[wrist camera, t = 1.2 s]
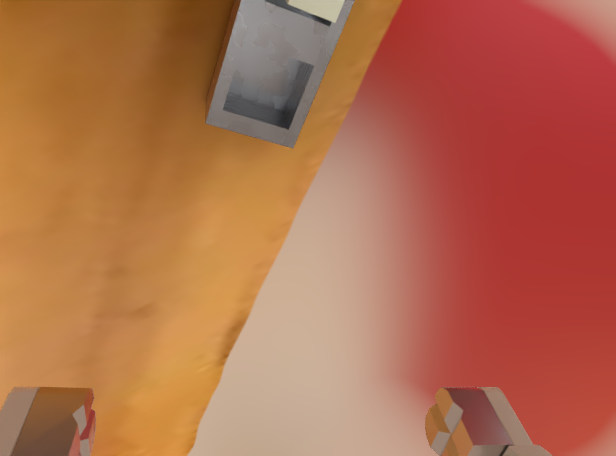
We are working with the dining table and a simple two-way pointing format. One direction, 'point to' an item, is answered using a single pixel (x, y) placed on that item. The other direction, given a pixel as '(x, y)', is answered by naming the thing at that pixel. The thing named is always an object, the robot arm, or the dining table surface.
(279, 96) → the grey peg holder
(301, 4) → the beige peg
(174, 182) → the dining table surface
